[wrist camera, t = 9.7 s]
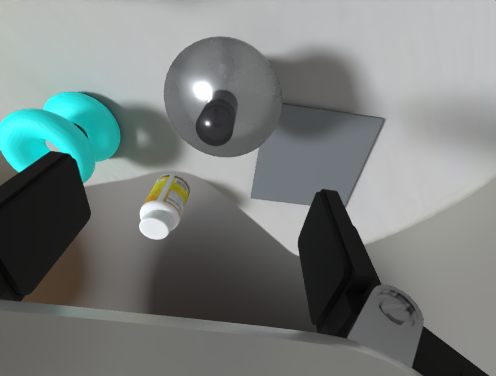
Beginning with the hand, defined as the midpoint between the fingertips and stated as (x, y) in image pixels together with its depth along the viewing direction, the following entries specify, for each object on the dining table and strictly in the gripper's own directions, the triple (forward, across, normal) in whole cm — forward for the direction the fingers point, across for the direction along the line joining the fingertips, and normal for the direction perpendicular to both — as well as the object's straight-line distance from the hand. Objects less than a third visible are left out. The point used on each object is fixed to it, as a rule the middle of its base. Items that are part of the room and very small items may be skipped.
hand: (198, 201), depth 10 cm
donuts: (+27, +20, +11) cm, 35 cm away
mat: (+26, -12, +11) cm, 31 cm away
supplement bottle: (+27, +8, +20) cm, 34 cm away
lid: (+17, +1, +1) cm, 17 cm away
